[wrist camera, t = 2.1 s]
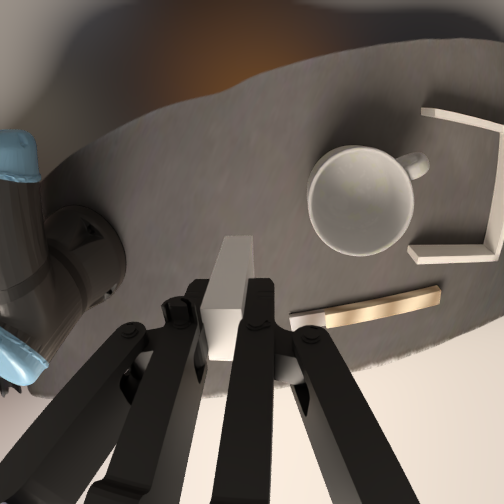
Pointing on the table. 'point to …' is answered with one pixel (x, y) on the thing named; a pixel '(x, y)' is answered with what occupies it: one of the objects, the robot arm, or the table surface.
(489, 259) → the tray
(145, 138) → the table surface
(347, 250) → the teacup
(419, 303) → the birch bar
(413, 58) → the table surface
